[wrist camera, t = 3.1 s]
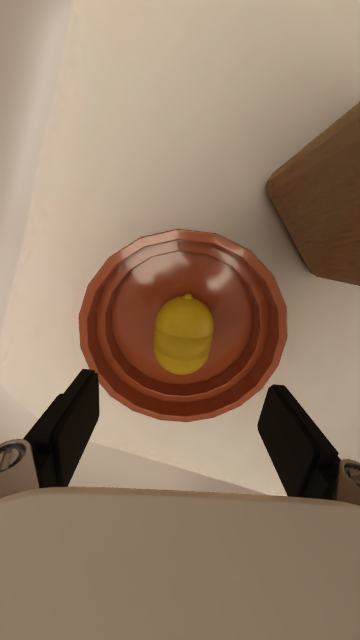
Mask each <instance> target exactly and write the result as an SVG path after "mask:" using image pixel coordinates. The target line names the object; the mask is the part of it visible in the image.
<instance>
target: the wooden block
mask: <svg viewBox="0 0 360 640" xmlns="http://www.w3.org/2000/svg"><path fill="white" fill-rule="evenodd" d="M266 186H267V192H268V194H269V196H270V198H271V200H272V202H273V204H274V206H275V207H276V209H277V211H278V213H279V215H280V217H281V219H282V220H283V222H284V224H285V226H286V228H287V230H288V232H289V233H290V235H291V237H292V239H293V241H294V243H295V245H296V246H297V248H298V250H299V252H300V254H301V256H302V258H303V259H304V261H305V263H306V265H307V267H308V269H309V270H310V272H311V273H312V274H314V275H315V276H317V277H321V278H326V279H331V280H335V281H340V282H345V283H349V284H354V285H359V286H360V103H358V104H357V105H356V106H355V107H353V108H352V109H351V110H350V111H348V112H347V113H346V114H345V115H344V116H342V117H341V118H340V119H339V120H337V121H336V122H335V123H334V124H333V125H331V126H330V127H329V128H328V129H326V130H325V131H324V132H323V133H322V134H320V135H319V136H318V137H317V138H315V139H314V140H313V141H312V142H310V143H309V144H308V145H307V146H306V147H304V148H303V149H302V150H301V151H299V152H298V153H297V154H296V155H295V156H293V157H292V158H291V159H290V160H288V161H287V162H286V163H285V164H284V165H282V166H281V167H280V168H279V169H277V170H276V171H275V172H274V173H273V174H272V176H271V177H270V179H269V180H268V182H267V185H266Z"/></svg>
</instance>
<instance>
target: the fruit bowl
mask: <svg viewBox="0 0 360 640" xmlns="http://www.w3.org/2000/svg"><path fill="white" fill-rule="evenodd" d="M185 294H191V295H192V297H193V298H195V299H198V300H199V301H201V302H202V303H204V304H205V305H206V306H207V308H208V309H209V311H210V312H211V314H212V317H213V322H214V331H213V337H212V342H211V348H210V352H209V356H208V359H207V360H206V362H205V363H204V365H203V366H202V367H201V368H200V369H198V370H197V371H195V372H193V373H190V374H186V375H177V374H173V373H171V372H169V371H167V370H165V369H164V368H163V367H162V366H161V365H160V364H159V362H158V361H157V359H156V356H155V353H154V332H155V321H156V317H157V314H158V312H159V311H160V309H161V308H162V306H163V305H164V304H165V303H167V302H168V301H170V300H171V299H174V298H177V297H183V296H184V295H185ZM79 331H80V346H81V350H82V352H83V355H84V357H85V359H86V362H87V364H88V367H89V369H90V370H95V373H98V380H99V383H100V384H101V386H102V387H103V388H104V389H105V390H106V391H107V393H108V394H109V395H110V396H111V397H113V398H114V399H116V400H117V401H119V402H120V403H122V404H123V405H125V406H126V407H128V408H129V409H131V410H132V411H135V412H138V413H141V414H144V415H147V416H150V417H153V418H156V419H160V420H167V421H180V422H190V421H196V420H202V419H208V418H214V417H216V416H219V415H221V414H223V413H225V412H228V411H230V410H232V409H235V408H237V407H239V406H241V405H242V404H244V403H245V402H246V401H247V400H249V399H250V398H251V397H252V396H254V395H255V394H256V393H257V392H259V391H260V390H261V389H262V388H263V387H264V385H265V384H266V382H267V381H268V379H269V378H270V377H271V375H272V374H273V372H274V371H275V370H276V368H277V367H278V365H279V362H280V359H281V356H282V352H283V349H284V346H285V343H286V340H287V309H286V304H285V302H284V300H283V297H282V295H281V292H280V290H279V287H278V285H277V282H276V280H275V277H274V276H273V274H272V273H271V272H270V271H269V270H268V269H267V268H266V267H265V266H264V265H263V264H262V263H261V262H260V260H259V259H258V258H257V257H256V256H255V255H254V254H253V253H252V252H251V251H250V250H248V249H246V248H244V247H242V246H240V245H238V244H236V243H234V242H232V241H230V240H228V239H226V238H224V237H223V236H221V235H219V234H216V233H208V232H200V231H191V230H183V229H176V230H171V231H167V232H162V233H158V234H154V235H149V236H145V237H141V238H139V239H137V240H136V241H134V242H133V243H131V244H129V245H128V246H126V247H125V248H123V249H122V250H120V251H118V252H117V253H115V254H114V255H112V256H111V257H110V258H108V259H107V261H106V262H105V263H104V265H103V266H102V267H101V269H100V270H99V271H98V273H97V274H96V275H95V276H94V278H93V279H92V280H91V282H90V283H89V284H88V287H87V290H86V293H85V297H84V300H83V303H82V307H81V310H80V313H79Z"/></svg>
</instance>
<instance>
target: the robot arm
mask: <svg viewBox="0 0 360 640" xmlns="http://www.w3.org/2000/svg"><path fill="white" fill-rule="evenodd" d="M98 418H99V380H98V373H95V370H90V369H82V370H81V372H80V373H79V374H78V376H77V377H76V378H75V379H74V381H73V382H72V383H71V385H70V386H69V387H68V389H67V390H66V391H65V392H64V394H59V395H58V396H57V397H56V399H55V400H54V401H53V402H52V404H51V405H50V406H49V407H48V409H47V410H46V411H45V412H44V414H43V415H42V416H41V417H40V419H39V420H38V421H37V422H36V423H35V425H34V426H33V427H32V429H31V430H30V431H29V432H28V433H27V435H26V436H25V437H24V438H23V439H13V440H10V441H6V442H4V443H2V444H0V640H360V463H358V462H356V461H353V460H350V459H343V460H341V459H340V458H339V457H338V454H339V453H338V452H337V450H336V449H335V448H334V447H333V445H332V444H331V443H330V442H329V440H328V439H327V438H326V437H325V435H324V434H323V433H322V432H321V430H320V429H319V428H318V427H317V425H316V424H315V423H314V422H313V420H312V419H311V418H310V417H309V415H308V414H307V413H306V412H305V410H304V409H303V408H302V407H301V405H300V404H299V403H298V402H297V400H296V399H295V398H294V397H293V395H292V394H291V393H290V392H289V390H288V389H287V388H286V387H285V386H284V385H272V386H271V387H269V388H268V391H267V395H266V398H265V401H264V405H263V408H262V411H261V415H260V418H259V421H258V431H259V434H260V436H261V438H262V440H263V442H264V445H265V447H266V449H267V451H268V453H269V456H270V458H271V460H272V462H273V464H274V467H275V469H276V471H277V473H278V476H279V478H280V480H281V482H282V484H283V487H284V489H285V491H286V493H287V495H288V496H270V495H251V494H234V493H215V492H196V491H175V490H154V489H130V488H106V487H68V484H69V482H70V480H71V478H72V476H73V474H74V471H75V469H76V467H77V465H78V463H79V460H80V458H81V456H82V454H83V452H84V449H85V447H86V445H87V443H88V441H89V438H90V436H91V434H92V432H93V430H94V427H95V425H96V423H97V421H98Z"/></svg>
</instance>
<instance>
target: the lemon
mask: <svg viewBox="0 0 360 640" xmlns="http://www.w3.org/2000/svg"><path fill="white" fill-rule="evenodd" d="M213 331H214V322H213V317H212V314H211V312H210V311H209V309H208V308H207V306H206V305H205V304H204V303H202V302H201V301H199V300H198V299H195V298H193V297H192V295H191V294H185V295H184V296H183V297H177V298H174V299H171V300H170V301H168V302H167V303H165V304H164V305H163V306H162V308H161V309H160V311H159V312H158V314H157V317H156V321H155V332H154V353H155V356H156V359H157V361H158V362H159V364H160V365H161V366H162V367H163V368H164V369H165V370H167V371H169V372H171V373H173V374H177V375H186V374H190V373H193V372H195V371H197V370H198V369H200V368H201V367H202V366H203V365H204V363H205V362H206V360H207V359H208V356H209V352H210V348H211V342H212V337H213Z"/></svg>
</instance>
